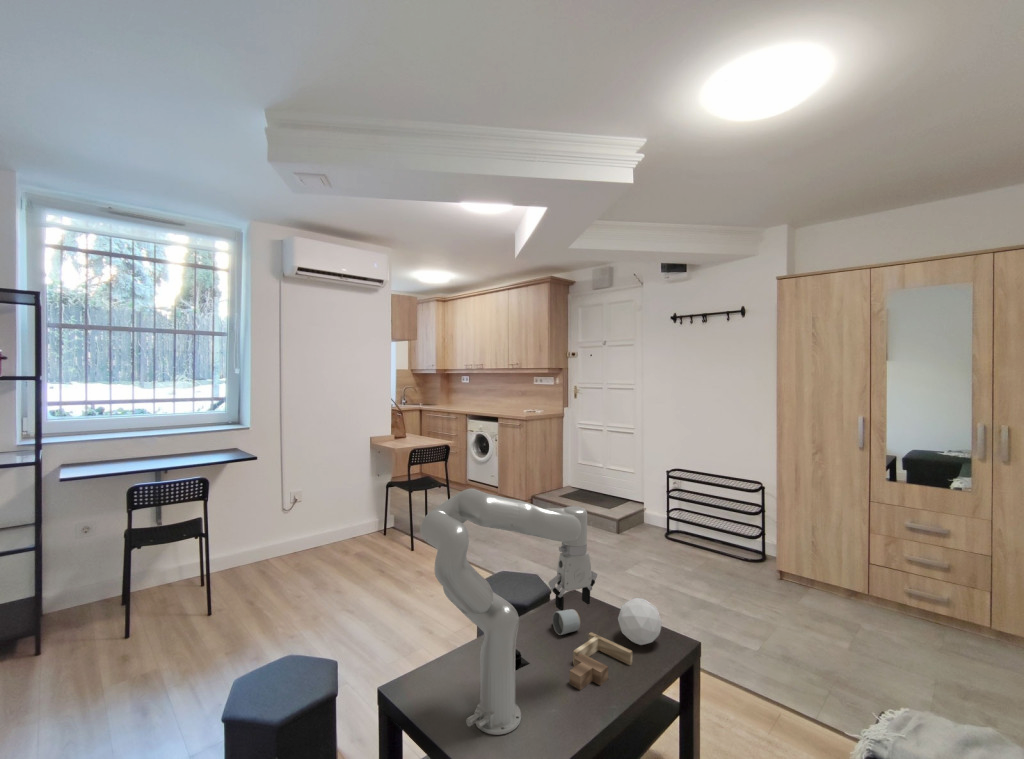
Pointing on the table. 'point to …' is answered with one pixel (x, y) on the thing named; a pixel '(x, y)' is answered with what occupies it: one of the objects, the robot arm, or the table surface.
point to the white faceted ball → (640, 621)
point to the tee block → (587, 672)
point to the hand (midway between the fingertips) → (572, 605)
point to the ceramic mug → (566, 621)
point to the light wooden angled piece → (604, 649)
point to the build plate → (519, 660)
